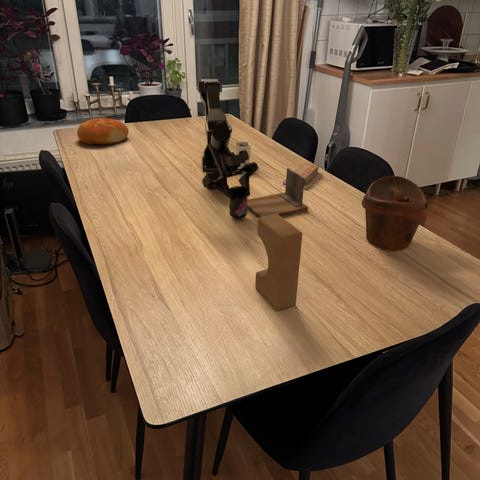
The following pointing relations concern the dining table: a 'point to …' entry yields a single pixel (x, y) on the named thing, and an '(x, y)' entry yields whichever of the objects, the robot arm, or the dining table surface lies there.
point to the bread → (102, 131)
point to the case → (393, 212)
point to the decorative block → (279, 261)
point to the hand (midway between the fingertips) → (241, 198)
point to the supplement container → (239, 202)
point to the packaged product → (308, 174)
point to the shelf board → (281, 199)
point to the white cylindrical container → (240, 147)
